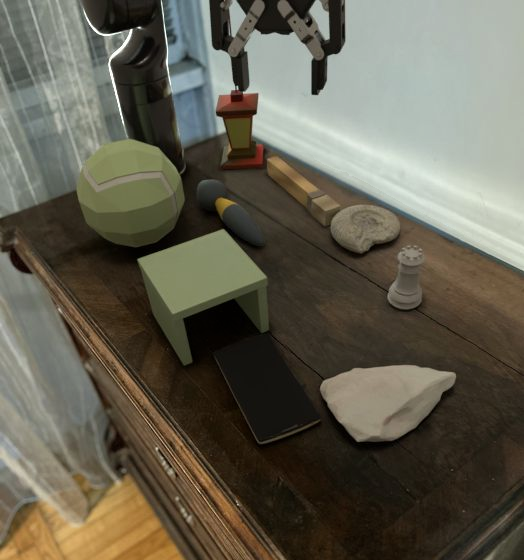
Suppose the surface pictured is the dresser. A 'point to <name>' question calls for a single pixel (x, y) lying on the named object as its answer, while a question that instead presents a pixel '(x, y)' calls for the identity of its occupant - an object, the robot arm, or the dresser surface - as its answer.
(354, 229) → the fossil
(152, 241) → the decorative sphere
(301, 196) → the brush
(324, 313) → the dresser surface
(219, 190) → the paintbrush
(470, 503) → the dresser surface
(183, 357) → the shelf
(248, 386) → the smartphone
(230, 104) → the light fixture
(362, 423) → the stone
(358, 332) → the dresser surface
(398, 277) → the rook chess piece
